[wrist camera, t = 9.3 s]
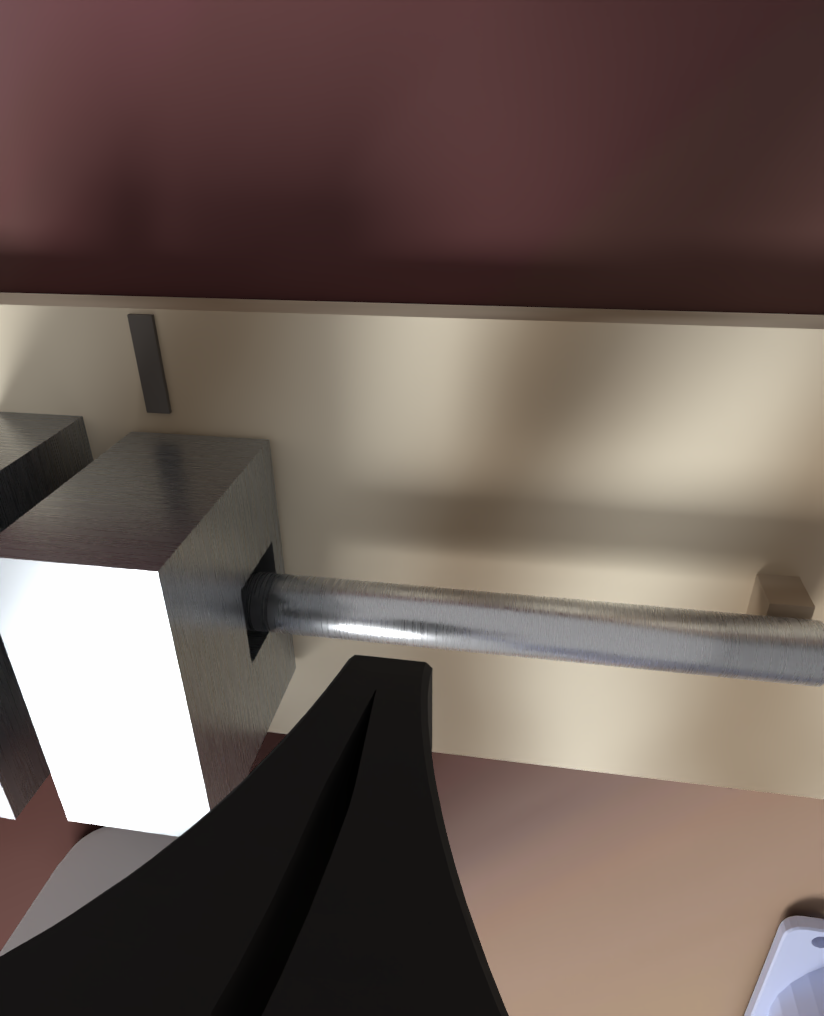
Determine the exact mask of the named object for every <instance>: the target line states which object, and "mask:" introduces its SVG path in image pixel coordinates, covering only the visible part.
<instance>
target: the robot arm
mask: <svg viewBox="0 0 824 1016" xmlns="http://www.w3.org/2000/svg"><path fill="white" fill-rule="evenodd" d="M432 672H433V668H432V667H431V666H430V665H429V664H428V663H427V662H421V661H412V660H402V659H393V658H383V657H374V656H364V655H354V656H352V657H351V658H350V659H348V661H347V662H346V664H345V665H344V666H343V668H342V669H341V670H340V672H339V673H338V674H337V675H336V677H335V678H334V679H333V681H332V682H331V683H330V684H329V686H328V687H327V688H326V690H325V691H324V692H323V693H322V694H321V696H320V697H319V698H318V699H317V701H316V702H315V703H314V704H313V705H312V707H311V708H310V709H309V710H308V711H307V713H306V714H305V715H304V716H303V717H302V718H301V719H300V720H299V722H298V723H297V724H296V725H295V726H294V727H293V728H292V729H291V731H290V732H289V733H288V734H287V735H286V736H285V737H284V739H283V740H282V741H281V742H280V743H279V744H278V745H277V746H276V747H275V748H274V749H273V750H272V751H271V752H270V753H269V754H268V755H267V756H266V757H265V758H264V759H263V760H262V762H261V763H260V764H259V765H258V766H257V767H256V768H255V769H254V770H253V771H252V772H251V773H250V774H249V775H248V776H247V777H246V778H245V779H244V780H243V781H242V782H241V783H240V784H239V785H238V786H237V787H235V788H234V789H233V790H232V791H231V792H230V793H229V794H228V795H227V796H226V797H225V798H224V799H223V800H221V801H220V802H219V803H218V804H217V805H216V806H215V807H214V808H213V809H211V810H210V811H209V812H208V813H207V814H206V815H204V816H203V817H202V818H201V819H200V820H199V821H197V822H196V823H195V824H194V825H193V826H192V827H190V828H189V829H188V830H187V831H186V832H184V833H183V834H182V835H180V836H179V837H178V838H177V839H175V840H174V841H173V842H172V843H170V844H169V845H168V846H167V847H165V848H164V849H163V850H162V851H160V852H159V853H158V854H157V855H155V856H154V857H153V858H151V859H150V860H149V861H147V862H146V863H145V864H143V865H142V866H141V867H139V868H138V869H137V870H135V871H134V872H132V873H131V874H130V875H128V876H127V877H125V878H124V879H122V880H121V881H120V882H118V883H117V884H115V885H114V886H112V887H111V888H109V889H108V890H106V891H105V892H103V893H102V894H100V895H99V896H97V897H96V898H94V899H93V900H91V901H90V902H88V903H87V904H86V905H84V906H83V907H81V908H80V909H78V910H77V911H75V912H74V913H72V914H71V915H69V916H68V917H66V918H64V919H63V920H61V921H60V922H58V923H57V924H55V925H53V926H52V927H50V928H48V929H47V930H45V931H43V932H42V933H40V934H38V935H36V936H35V937H33V938H31V939H29V940H28V941H26V942H24V943H23V944H21V945H19V946H17V947H16V948H14V949H12V950H11V951H9V952H7V953H5V954H4V955H2V956H0V1016H509V1015H508V1013H507V1011H506V1008H505V1006H504V1003H503V1001H502V998H501V996H500V993H499V991H498V988H497V986H496V983H495V981H494V978H493V976H492V973H491V971H490V968H489V966H488V963H487V960H486V957H485V954H484V952H483V949H482V946H481V943H480V940H479V937H478V935H477V932H476V929H475V926H474V923H473V920H472V918H471V915H470V912H469V909H468V906H467V903H466V900H465V897H464V894H463V890H462V887H461V884H460V880H459V877H458V874H457V870H456V867H455V863H454V859H453V856H452V852H451V848H450V845H449V841H448V837H447V833H446V829H445V824H444V820H443V816H442V811H441V806H440V801H439V796H438V792H437V786H436V781H435V775H434V769H433V761H432ZM744 1016H824V919H821V918H814V917H807V916H791V917H788V918H786V919H784V920H783V921H782V922H781V924H780V925H779V928H778V931H777V933H776V936H775V938H774V941H773V943H772V946H771V948H770V951H769V953H768V956H767V959H766V961H765V964H764V966H763V969H762V971H761V974H760V976H759V979H758V981H757V984H756V986H755V989H754V992H753V994H752V997H751V999H750V1002H749V1004H748V1007H747V1009H746V1012H745V1014H744Z"/></svg>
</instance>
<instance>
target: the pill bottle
mask: <svg viewBox="0 0 824 1016" xmlns="http://www.w3.org/2000/svg"><path fill="white" fill-rule="evenodd" d="M177 838H178V837H176V836H169V835H163V834H156V833H149V832H142V831H135V830H129V829H122V828H115V827H108V826H106V827H102V828H100V829H97V830H95V831H93V832H91V833H90V834H88V835H86V836H85V837H83V838H82V839H81V840H80V841H79V842H77V843H76V844H75V845H74V846H73V847H72V849H71V850H70V851H69V852H68V854H67V855H66V856H65V858H64V859H63V860H62V861H61V862H60V863H59V865H58V866H57V868H56V869H55V871H54V872H53V874H52V875H51V877H50V878H49V880H48V881H47V883H46V884H45V886H44V887H43V889H42V890H41V892H40V893H39V895H38V896H37V898H36V899H35V901H34V902H33V904H32V905H31V907H30V908H29V910H28V911H27V913H26V914H25V916H24V917H23V919H22V920H21V922H20V923H19V925H18V926H17V928H16V929H15V931H14V932H13V934H12V935H11V937H10V938H9V940H8V941H7V943H6V944H5V946H4V947H3V949H2V950H1V952H0V956H2V955H4V954H5V953H7V952H9V951H11V950H12V949H14V948H16V947H17V946H19V945H21V944H23V943H24V942H26V941H28V940H29V939H31V938H33V937H35V936H36V935H38V934H40V933H42V932H43V931H45V930H47V929H48V928H50V927H52V926H53V925H55V924H57V923H58V922H60V921H61V920H63V919H64V918H66V917H68V916H69V915H71V914H72V913H74V912H75V911H77V910H78V909H80V908H81V907H83V906H84V905H86V904H87V903H88V902H90V901H91V900H93V899H94V898H96V897H97V896H99V895H100V894H102V893H103V892H105V891H106V890H108V889H109V888H111V887H112V886H114V885H115V884H117V883H118V882H120V881H121V880H122V879H124V878H125V877H127V876H128V875H130V874H131V873H132V872H134V871H135V870H137V869H138V868H139V867H141V866H142V865H143V864H145V863H146V862H147V861H149V860H150V859H151V858H153V857H154V856H155V855H157V854H158V853H159V852H160V851H162V850H163V849H164V848H165V847H167V846H168V845H169V844H170V843H172V842H173V841H174V840H175V839H177Z"/></svg>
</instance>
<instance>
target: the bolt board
mask: <svg viewBox="0 0 824 1016" xmlns="http://www.w3.org/2000/svg"><path fill="white" fill-rule="evenodd" d="M130 432H148V433H165V434H182V435H199V436H217V437H234V438H251V439H269V441H270V449H271V458H272V466H273V475H274V483H275V492H276V500H277V509H278V518H279V526H280V535H281V543H282V552H283V560H284V569H285V574H280V573H268V572H257V571H253V572H252V573H251V575H250V577H249V578H248V580H247V581H246V583H245V584H244V586H243V588H242V589H241V591H240V592H241V598H242V605H243V611H244V618H245V624H246V630H253V631H263V632H273V633H283V634H292V637H293V646H294V655H295V663H296V669H295V672H294V674H293V676H292V678H291V680H290V683H289V685H288V687H287V689H286V691H285V694H284V696H283V698H282V700H281V703H280V705H279V707H278V709H277V711H276V714H275V716H274V718H273V720H272V722H271V725H270V727H269V729H268V731H267V732H273V733H282V734H288V733H289V732H290V731H291V729H292V728H293V727H294V726H295V725H296V724H297V723H298V722H299V720H300V719H301V718H302V717H303V716H304V715H305V714H306V713H307V711H308V710H309V709H310V708H311V707H312V705H313V704H314V703H315V702H316V701H317V699H318V698H319V697H320V696H321V694H322V693H323V692H324V691H325V690H326V688H327V687H328V686H329V684H330V683H331V682H332V681H333V679H334V678H335V677H336V675H337V674H338V673H339V672H340V670H341V669H342V668H343V666H344V665H345V664H346V662H347V661H348V659H350V658H351V657H352V656H354V655H364V656H374V657H383V658H393V659H402V660H412V661H421V662H427V663H428V664H429V665H430V666H431V667H432V668H433V672H432V752H438V753H446V754H454V755H463V756H471V757H479V758H487V759H495V760H504V761H512V762H520V763H528V764H537V765H545V766H553V767H561V768H570V769H578V770H586V771H594V772H602V773H611V774H619V775H627V776H635V777H644V778H652V779H660V780H668V781H676V782H685V783H693V784H701V785H709V786H718V787H726V788H734V789H742V790H750V791H759V792H767V793H775V794H783V795H792V796H800V797H808V798H816V799H824V315H806V314H770V313H733V312H697V311H660V310H624V309H587V308H550V307H514V306H477V305H441V304H404V303H368V302H331V301H294V300H258V299H221V298H185V297H148V296H112V295H75V294H38V293H2V292H0V533H1V532H2V531H3V530H5V529H6V528H7V527H9V526H10V525H11V524H12V523H14V522H15V521H16V520H18V519H19V518H20V517H22V516H23V515H24V514H25V513H27V512H28V511H29V510H31V509H32V508H33V507H34V506H36V505H37V504H38V503H40V502H41V501H42V500H43V499H45V498H46V497H47V496H49V495H50V494H51V493H53V492H54V491H55V490H56V489H58V488H59V487H60V486H62V485H63V484H64V483H65V482H67V481H68V480H69V479H71V478H72V477H73V476H75V475H76V474H77V473H78V472H80V471H81V470H82V469H84V468H85V467H86V466H87V465H89V464H90V463H91V462H93V461H94V460H95V459H96V458H98V457H99V456H100V455H102V454H103V453H104V452H106V451H107V450H108V449H109V448H111V447H112V446H113V445H115V444H116V443H117V442H118V441H120V440H121V439H122V438H124V437H125V436H126V435H128V434H129V433H130ZM50 773H51V772H50V769H49V766H48V764H47V761H46V758H45V755H44V753H43V750H42V747H41V744H40V742H39V739H38V736H37V733H36V731H35V728H34V725H33V722H32V720H31V717H30V714H29V711H28V709H27V706H26V703H25V700H24V698H23V695H22V692H21V689H20V687H19V684H18V681H17V678H16V676H15V673H14V670H13V667H12V665H11V662H10V659H9V657H8V654H7V651H6V648H5V646H4V643H3V640H2V637H1V635H0V817H3V818H10V819H16V818H17V817H18V815H19V814H20V813H21V811H22V810H23V809H24V807H25V806H26V805H27V803H28V802H29V801H30V799H31V798H32V797H33V795H34V794H35V793H36V791H37V790H38V789H39V787H40V786H41V785H42V783H43V782H44V781H45V779H46V778H47V777H48V775H49V774H50Z"/></svg>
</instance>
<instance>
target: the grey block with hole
mask: <svg viewBox="0 0 824 1016" xmlns="http://www.w3.org/2000/svg"><path fill="white" fill-rule="evenodd" d="M253 571H257V572H268V573H280V574H285V569H284V560H283V552H282V543H281V535H280V526H279V518H278V509H277V500H276V492H275V483H274V475H273V466H272V458H271V449H270V441H269V439H251V438H234V437H217V436H199V435H182V434H165V433H148V432H130V433H129V434H128V435H126V436H125V437H124V438H122V439H121V440H120V441H118V442H117V443H116V444H115V445H113V446H112V447H111V448H109V449H108V450H107V451H106V452H104V453H103V454H102V455H100V456H99V457H98V458H96V459H95V460H94V461H93V462H91V463H90V464H89V465H87V466H86V467H85V468H84V469H82V470H81V471H80V472H78V473H77V474H76V475H75V476H73V477H72V478H71V479H69V480H68V481H67V482H65V483H64V484H63V485H62V486H60V487H59V488H58V489H56V490H55V491H54V492H53V493H51V494H50V495H49V496H47V497H46V498H45V499H43V500H42V501H41V502H40V503H38V504H37V505H36V506H34V507H33V508H32V509H31V510H29V511H28V512H27V513H25V514H24V515H23V516H22V517H20V518H19V519H18V520H16V521H15V522H14V523H12V524H11V525H10V526H9V527H7V528H6V529H5V530H3V531H2V532H1V533H0V635H1V637H2V640H3V643H4V646H5V648H6V651H7V654H8V657H9V659H10V662H11V665H12V667H13V670H14V673H15V676H16V678H17V681H18V684H19V687H20V689H21V692H22V695H23V698H24V700H25V703H26V706H27V709H28V711H29V714H30V717H31V720H32V722H33V725H34V728H35V731H36V733H37V736H38V739H39V742H40V744H41V747H42V750H43V753H44V755H45V758H46V761H47V764H48V766H49V769H50V772H51V775H52V777H53V780H54V783H55V786H56V788H57V791H58V794H59V797H60V799H61V802H62V805H63V808H64V810H65V813H66V816H67V819H68V821H74V822H81V823H88V824H95V825H101V826H108V827H115V828H122V829H129V830H135V831H142V832H149V833H156V834H163V835H169V836H176V837H179V836H180V835H182V834H183V833H184V832H186V831H187V830H188V829H189V828H190V827H192V826H193V825H194V824H195V823H196V822H197V821H199V820H200V819H201V818H202V817H203V816H204V815H206V814H207V813H208V812H209V811H210V810H211V809H213V808H214V807H215V806H216V805H217V804H218V803H219V802H220V801H221V800H223V799H224V798H225V797H226V796H227V795H228V794H229V793H230V792H231V791H232V790H233V789H234V788H235V787H237V786H238V785H239V784H240V783H241V782H242V781H243V780H244V779H245V778H246V777H247V775H248V773H249V771H250V769H251V766H252V764H253V762H254V760H255V758H256V755H257V753H258V751H259V749H260V747H261V744H262V742H263V740H264V738H265V736H266V733H267V731H268V729H269V727H270V725H271V722H272V720H273V718H274V716H275V714H276V711H277V709H278V707H279V705H280V703H281V700H282V698H283V696H284V694H285V691H286V689H287V687H288V685H289V683H290V680H291V678H292V676H293V674H294V672H295V669H296V663H295V655H294V646H293V637H292V634H283V633H273V632H263V631H253V630H246V624H245V618H244V611H243V605H242V598H241V592H240V591H241V589H242V588H243V586H244V584H245V583H246V581H247V580H248V578H249V577H250V575H251V573H252V572H253Z"/></svg>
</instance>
